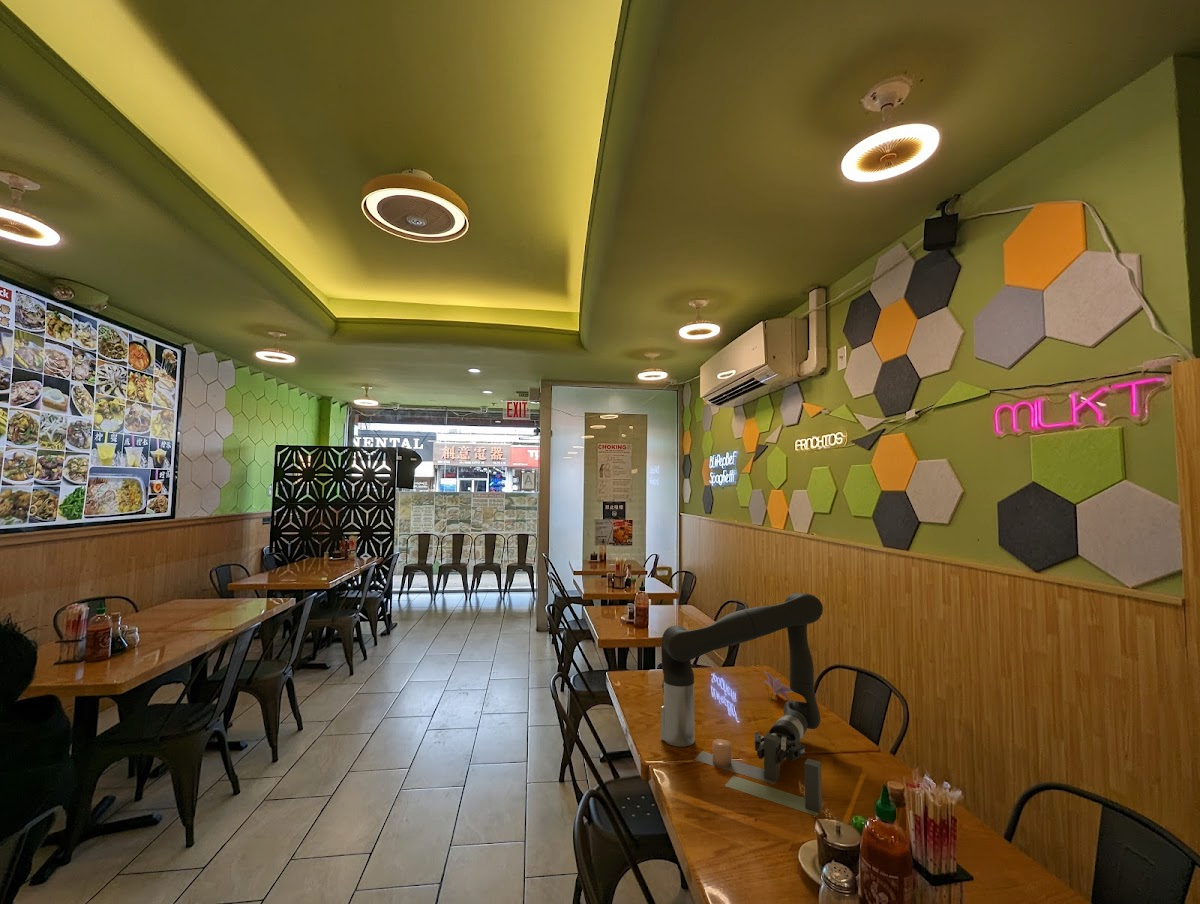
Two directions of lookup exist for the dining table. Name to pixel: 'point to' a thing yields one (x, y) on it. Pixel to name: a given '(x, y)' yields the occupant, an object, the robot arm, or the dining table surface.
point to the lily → (777, 686)
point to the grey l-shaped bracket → (766, 774)
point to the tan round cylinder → (721, 752)
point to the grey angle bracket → (807, 804)
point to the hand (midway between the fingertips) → (768, 757)
